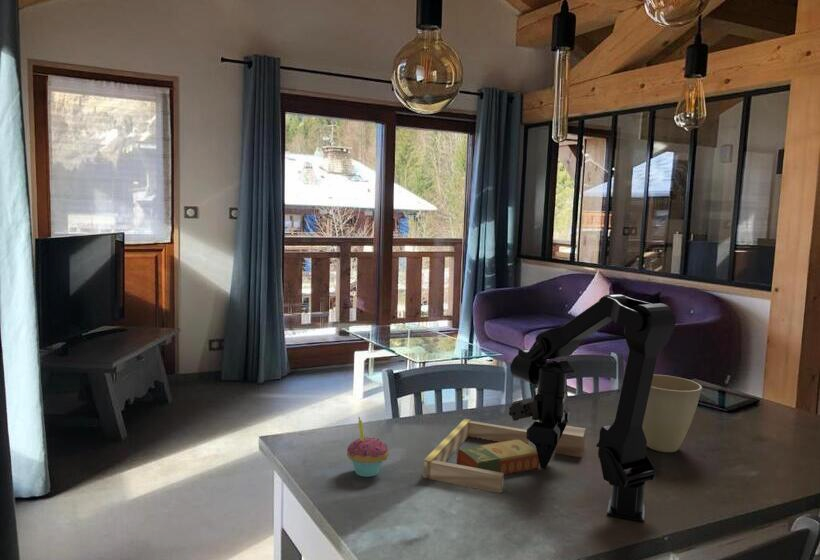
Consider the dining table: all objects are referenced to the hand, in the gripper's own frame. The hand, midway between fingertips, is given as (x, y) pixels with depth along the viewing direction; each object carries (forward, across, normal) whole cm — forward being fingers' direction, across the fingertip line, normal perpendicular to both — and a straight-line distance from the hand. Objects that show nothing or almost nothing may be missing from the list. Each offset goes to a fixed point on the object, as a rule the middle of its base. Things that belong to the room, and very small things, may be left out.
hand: (546, 460), depth 141 cm
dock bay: (+2, +1, -14) cm, 14 cm away
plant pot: (+2, -27, +23) cm, 36 cm away
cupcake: (+2, +18, -34) cm, 38 cm away
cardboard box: (+2, -14, +3) cm, 15 cm away
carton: (+3, +3, -10) cm, 11 cm away
